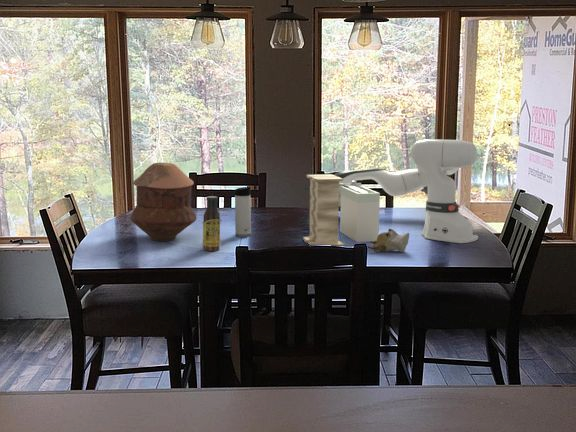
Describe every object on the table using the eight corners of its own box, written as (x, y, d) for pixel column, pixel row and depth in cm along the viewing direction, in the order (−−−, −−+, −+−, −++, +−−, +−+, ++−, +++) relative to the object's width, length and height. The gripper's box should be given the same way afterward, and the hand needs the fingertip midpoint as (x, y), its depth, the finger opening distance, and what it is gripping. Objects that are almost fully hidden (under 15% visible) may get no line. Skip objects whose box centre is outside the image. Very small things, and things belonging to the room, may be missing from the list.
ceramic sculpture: (408, 231, 231) (366, 231, 235) (408, 255, 232) (367, 255, 236) (410, 226, 241) (369, 226, 245) (410, 248, 243) (370, 248, 246)
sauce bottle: (205, 252, 236) (204, 198, 232) (200, 248, 242) (199, 196, 238) (222, 250, 239) (222, 197, 235) (217, 247, 244) (216, 194, 240)
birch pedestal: (302, 239, 256) (303, 174, 251) (331, 238, 259) (332, 173, 254) (314, 249, 241) (315, 180, 236) (345, 247, 244) (346, 179, 239)
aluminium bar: (343, 190, 275) (343, 184, 275) (349, 189, 276) (349, 184, 275) (361, 198, 254) (361, 192, 254) (368, 198, 255) (368, 192, 254)
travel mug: (249, 237, 260) (249, 188, 256) (233, 236, 261) (232, 187, 257) (253, 234, 266) (253, 185, 262) (237, 233, 267) (237, 185, 263)
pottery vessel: (126, 234, 265) (123, 161, 260) (188, 229, 275) (186, 158, 269) (137, 248, 242) (133, 168, 236) (203, 242, 251) (202, 165, 245)
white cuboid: (340, 231, 272) (341, 186, 268) (360, 230, 274) (361, 185, 271) (356, 242, 253) (358, 193, 249) (378, 240, 255) (379, 193, 252)
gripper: (358, 200, 292) (368, 188, 279) (314, 202, 287) (322, 190, 274) (356, 187, 294) (365, 175, 281) (312, 189, 289) (320, 177, 276)
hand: (344, 183), depth 277 cm, fingers open, 8 cm apart
